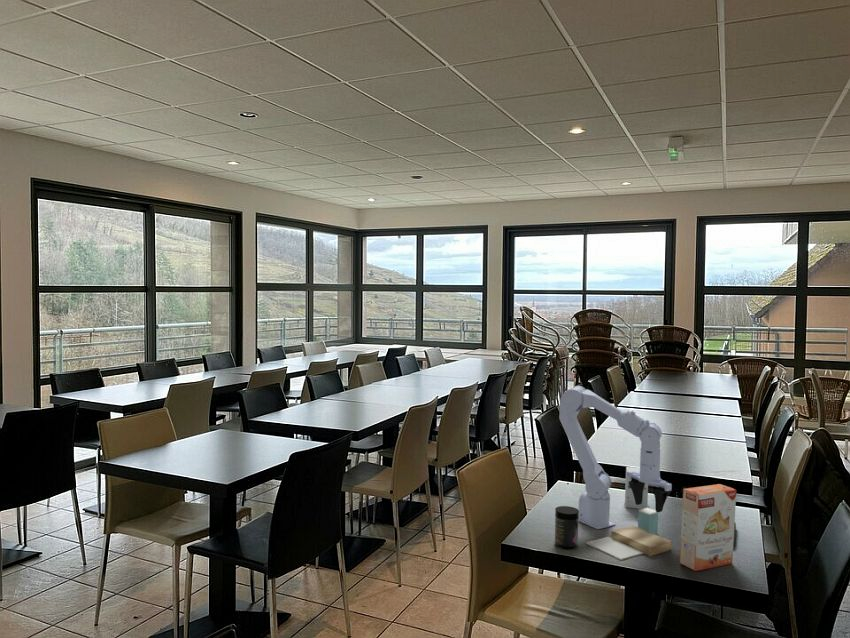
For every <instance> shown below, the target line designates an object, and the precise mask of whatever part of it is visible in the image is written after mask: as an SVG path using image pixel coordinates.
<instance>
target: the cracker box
mask: <svg viewBox="0 0 850 638" xmlns="http://www.w3.org/2000/svg"><path fill="white" fill-rule="evenodd" d="M682 492H683V493H682V509H681V511H682V513H681V526H680V527H681V528H680V529H681V531H680V551H679V564H681V565H683V566H685V567H686V568H688V569H690V570H692V571H694V572H698V571H702V570H708V569H713V568H718V567H721V566H727V565H732V564H733V555H734V554H733V553H734V547H733V541H734V524H736V521H735V520H736V506H737V505H736V503H737V489H735V488H733V487H730V486H727V485H724V484H721V483H717V484H711V485H710V484H709V485H703V486H695V487H688V488H683V491H682Z"/></svg>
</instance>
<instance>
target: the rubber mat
mask: <svg viewBox="0 0 850 638" xmlns="http://www.w3.org/2000/svg"><path fill="white" fill-rule="evenodd" d="M585 544H586V545H588V546H589V547H592V548H594V549H596V550H598V551H601V552H602V553H604V554H606V555H609V556H611V557H612V558H615V559H617V560H620V561H624V560H627V559H631V558H633V557H637V556H640V555H643V554H644V553H643V552H641V551H639V550H636V549H634V548H632V547H630V546H628V545H625V544H623V543H621V542H619V541H616V540H614V539H612V537H610V536H605V537H603V538H601V537H600V538H598V539H594V540H590V541H586V543H585Z"/></svg>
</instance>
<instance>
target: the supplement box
mask: <svg viewBox="0 0 850 638" xmlns="http://www.w3.org/2000/svg"><path fill="white" fill-rule="evenodd" d="M630 472H635V473H640V467H633V466H626V467H625V487H624V488H625V489H624V491H625V493H624V506H625V507H624V508H629V509H631V508H632V509H638V510H639V509H644V508H648V504H649V503H648V500H649V499H648V498H649V497H648V496H649V484H646V483H645V485H644V489H643V499H642V504H639V505H636V503H635V499H634V495H633V492H632V489H631V487H630V485H629V481H631V480H632V479H629V473H630Z"/></svg>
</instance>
